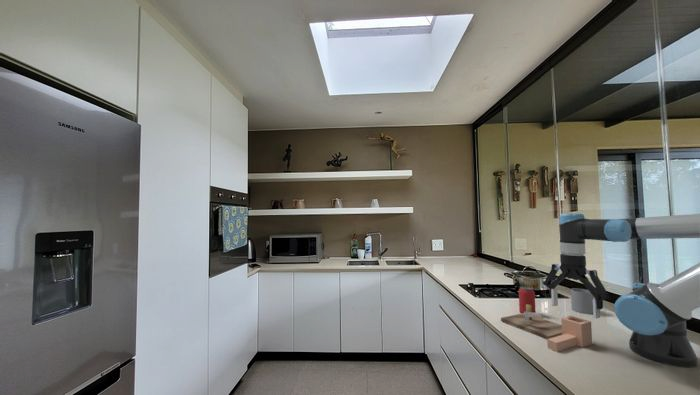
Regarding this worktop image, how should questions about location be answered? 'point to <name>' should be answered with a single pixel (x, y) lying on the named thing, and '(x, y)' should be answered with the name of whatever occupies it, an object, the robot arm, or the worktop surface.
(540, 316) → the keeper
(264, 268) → the worktop surface
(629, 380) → the worktop surface
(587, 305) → the cup
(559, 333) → the board
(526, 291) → the beer can
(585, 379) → the worktop surface
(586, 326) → the link
